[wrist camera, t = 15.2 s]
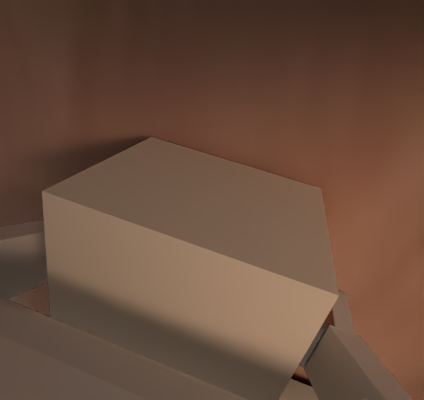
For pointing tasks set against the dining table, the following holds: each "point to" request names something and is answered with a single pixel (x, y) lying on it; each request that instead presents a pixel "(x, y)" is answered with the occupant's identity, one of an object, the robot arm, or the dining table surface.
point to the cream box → (192, 263)
